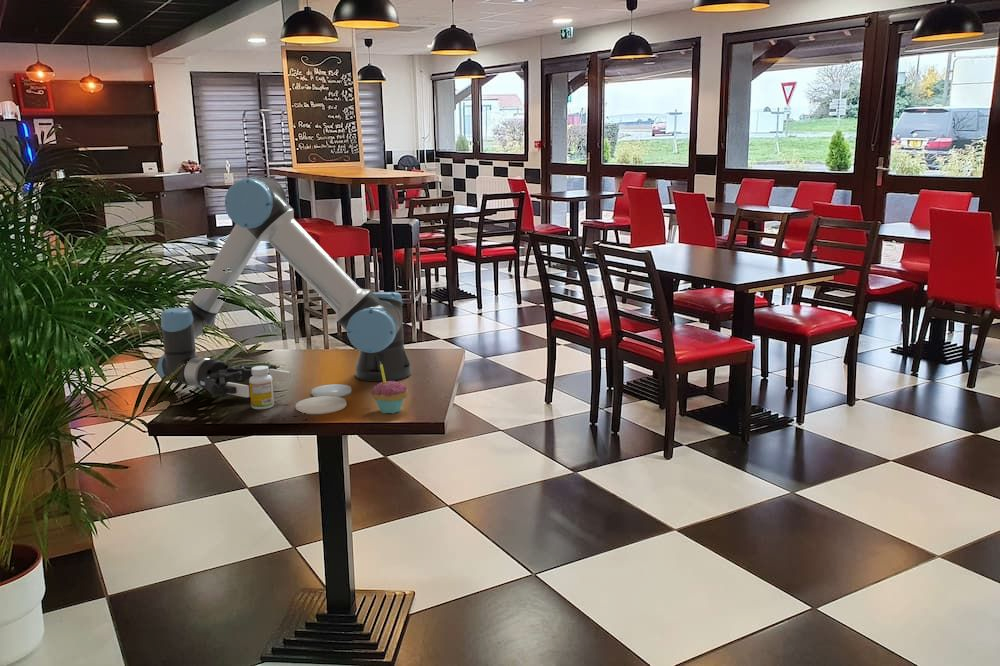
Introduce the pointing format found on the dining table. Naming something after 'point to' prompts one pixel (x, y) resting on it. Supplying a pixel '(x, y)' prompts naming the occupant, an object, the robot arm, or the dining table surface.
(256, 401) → the supplement bottle
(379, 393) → the cupcake
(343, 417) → the dining table surface
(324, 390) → the grey coaster
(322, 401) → the cream coaster
